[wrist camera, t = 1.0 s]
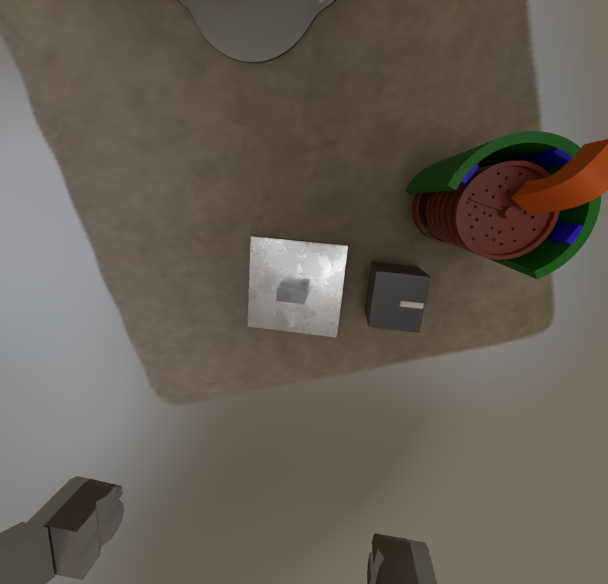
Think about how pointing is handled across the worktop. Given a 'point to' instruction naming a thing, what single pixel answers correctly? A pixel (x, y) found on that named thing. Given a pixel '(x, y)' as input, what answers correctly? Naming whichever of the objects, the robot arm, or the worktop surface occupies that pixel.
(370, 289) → the dark grey cube
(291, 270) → the shaft plate
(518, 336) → the worktop surface
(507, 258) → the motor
